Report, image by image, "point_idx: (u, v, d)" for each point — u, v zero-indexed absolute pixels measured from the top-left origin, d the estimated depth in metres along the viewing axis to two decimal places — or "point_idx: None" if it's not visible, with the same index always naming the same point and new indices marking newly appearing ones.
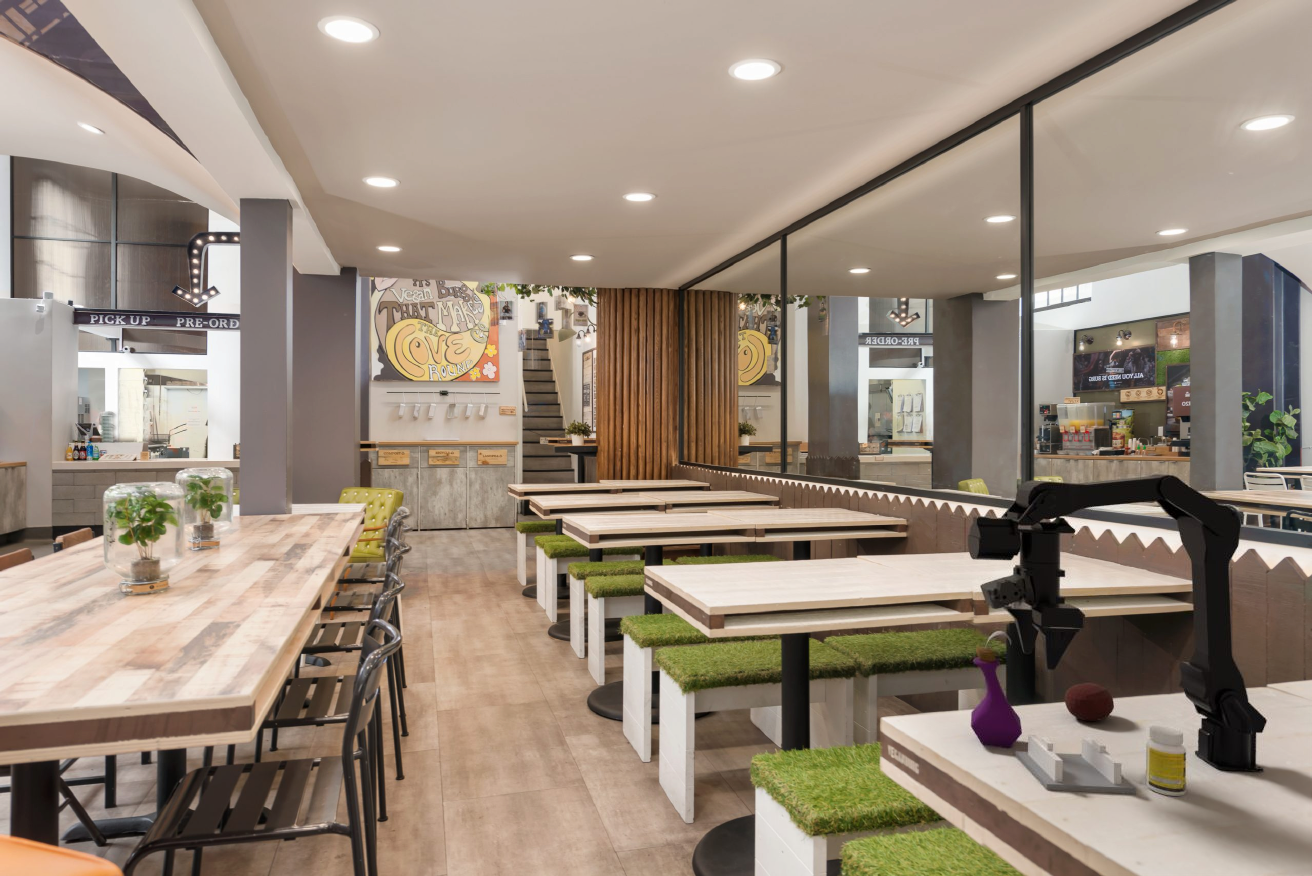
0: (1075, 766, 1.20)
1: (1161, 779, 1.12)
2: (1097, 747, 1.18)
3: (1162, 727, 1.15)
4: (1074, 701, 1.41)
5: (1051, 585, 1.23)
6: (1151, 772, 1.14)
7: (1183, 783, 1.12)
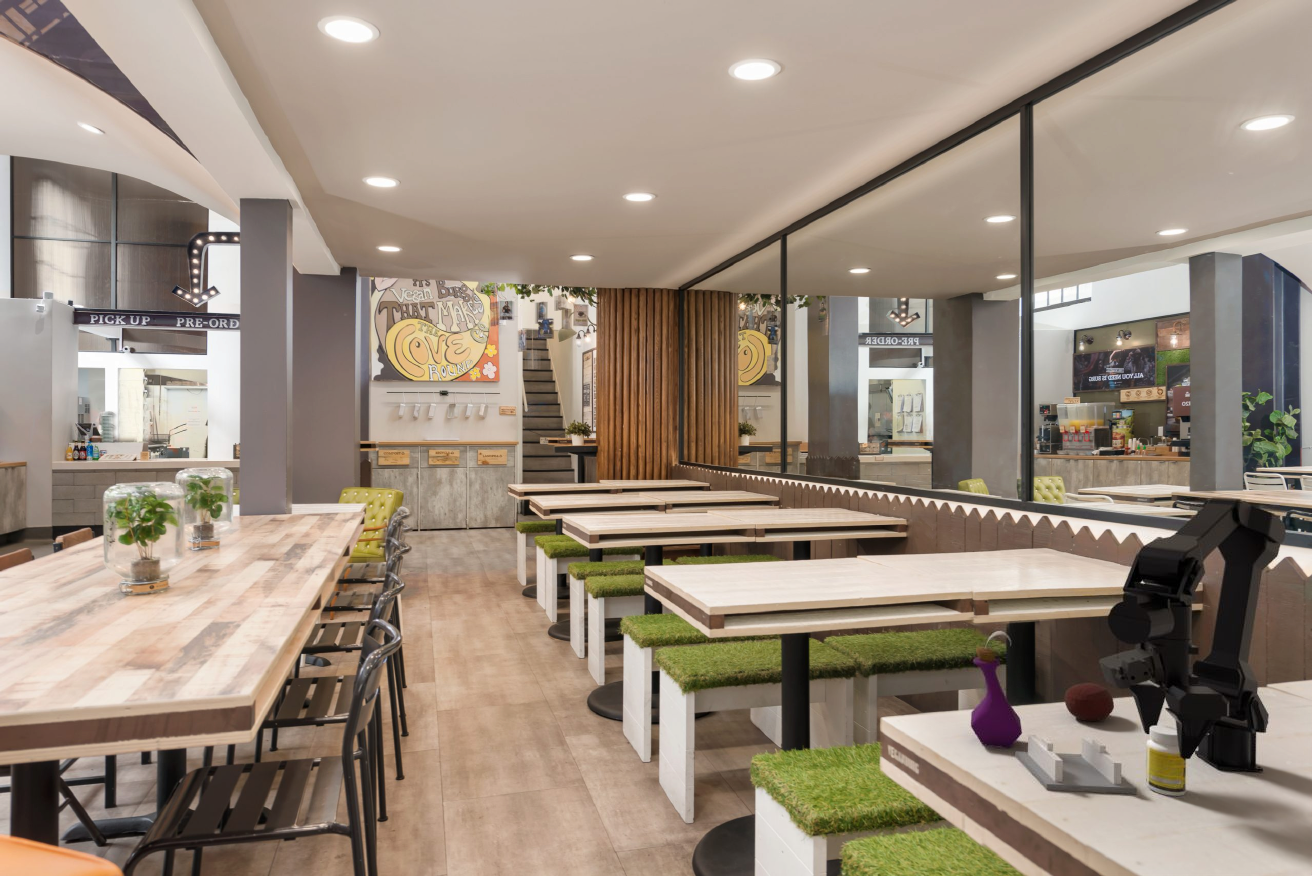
0: (1075, 766, 1.20)
1: (1161, 779, 1.12)
2: (1097, 747, 1.18)
3: (1162, 727, 1.15)
4: (1074, 701, 1.41)
5: (1183, 663, 1.11)
6: (1151, 772, 1.14)
7: (1183, 783, 1.12)
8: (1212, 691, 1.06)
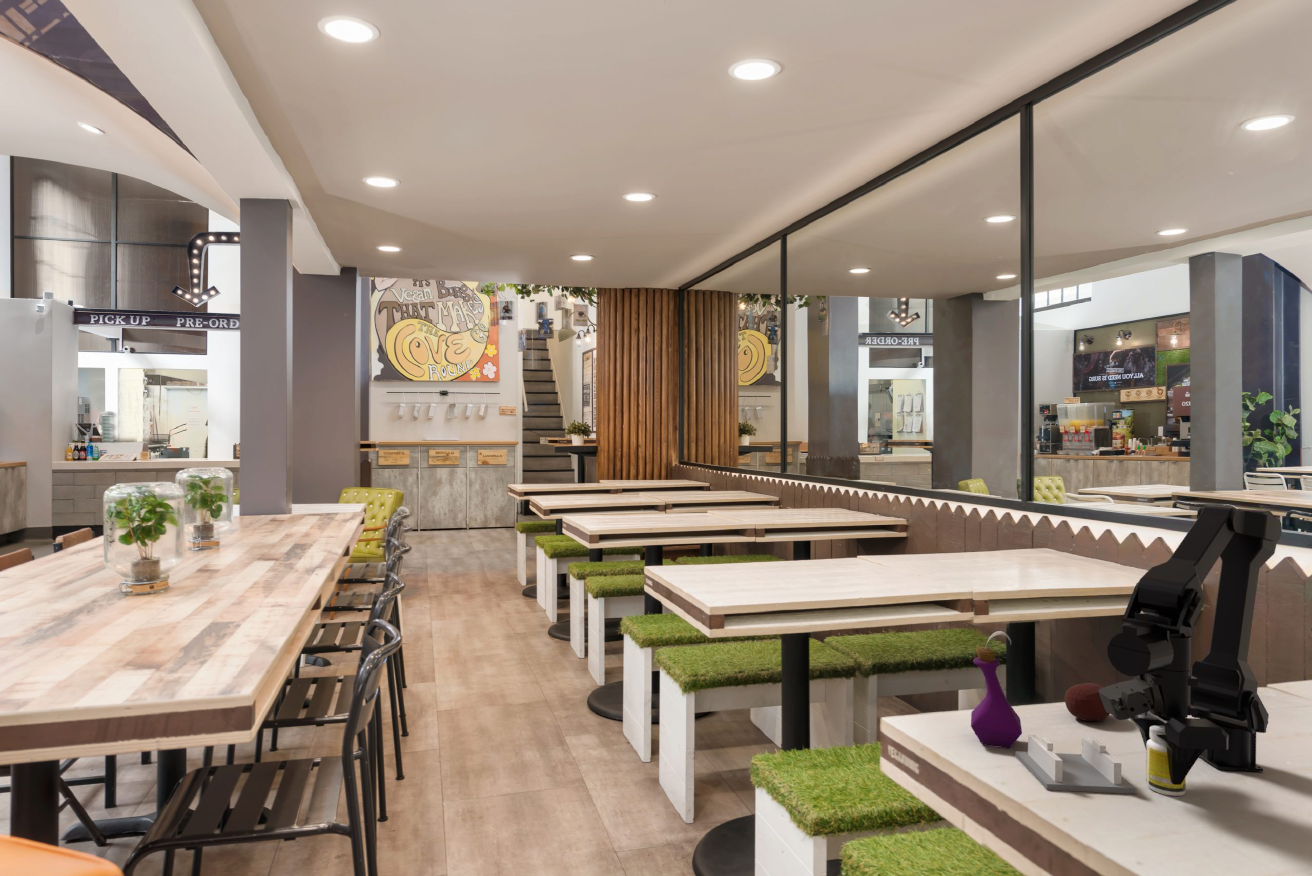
0: (1075, 766, 1.20)
1: (1161, 779, 1.12)
2: (1097, 747, 1.18)
3: (1162, 726, 1.15)
4: (1074, 701, 1.41)
5: (1183, 695, 1.11)
6: (1151, 772, 1.14)
7: (1183, 783, 1.12)
8: (1211, 724, 1.06)
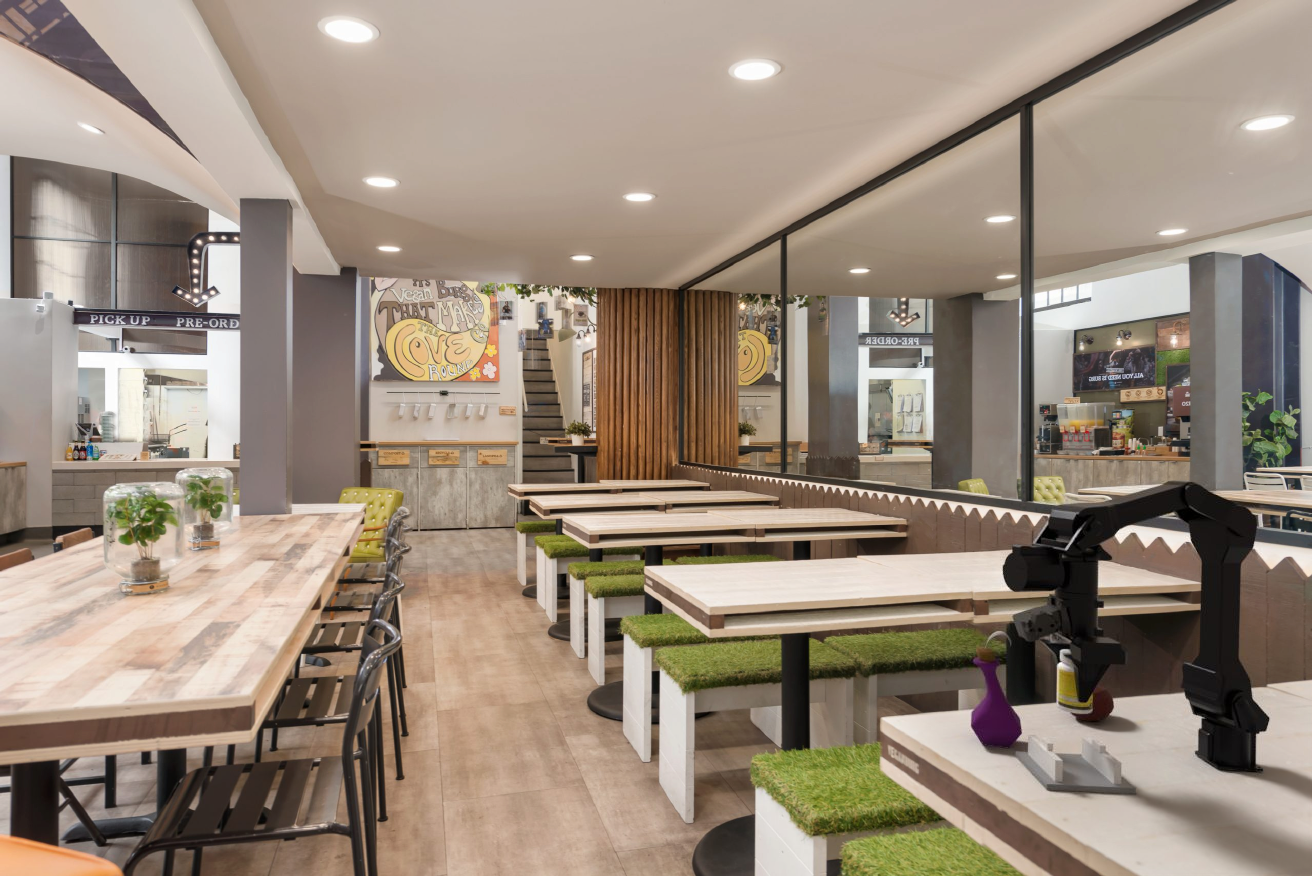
0: (1075, 766, 1.20)
1: (1069, 698, 1.17)
2: (1097, 747, 1.18)
3: None
4: None
5: (1089, 616, 1.16)
6: (1060, 692, 1.18)
7: (1090, 702, 1.17)
8: (1112, 641, 1.11)
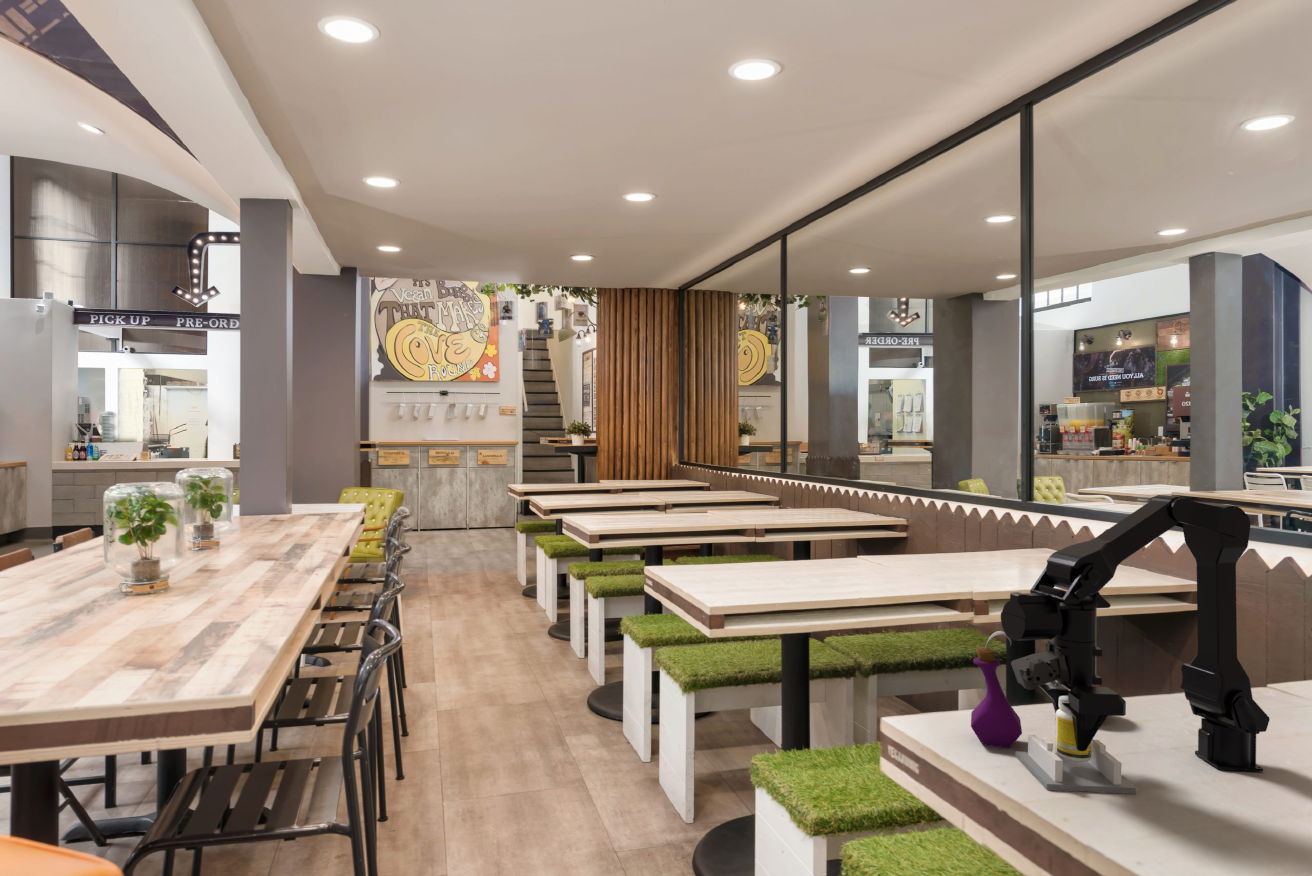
0: (1075, 766, 1.20)
1: (1068, 746, 1.17)
2: (1097, 747, 1.18)
3: None
4: None
5: (1087, 665, 1.16)
6: (1059, 740, 1.19)
7: (1088, 750, 1.17)
8: (1111, 691, 1.11)
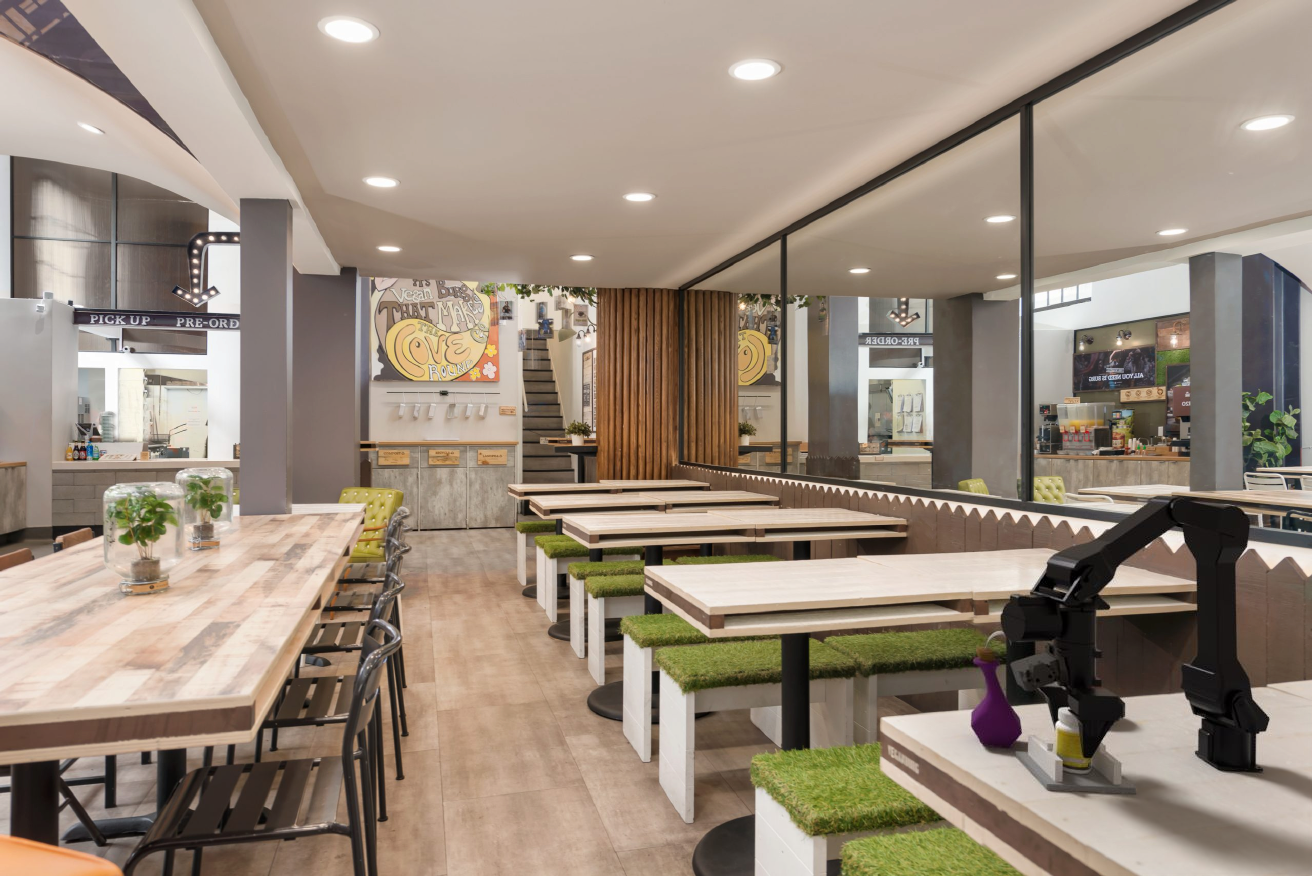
0: None
1: (1067, 758, 1.17)
2: None
3: None
4: None
5: (1087, 666, 1.16)
6: (1058, 752, 1.19)
7: (1088, 762, 1.17)
8: (1110, 693, 1.11)
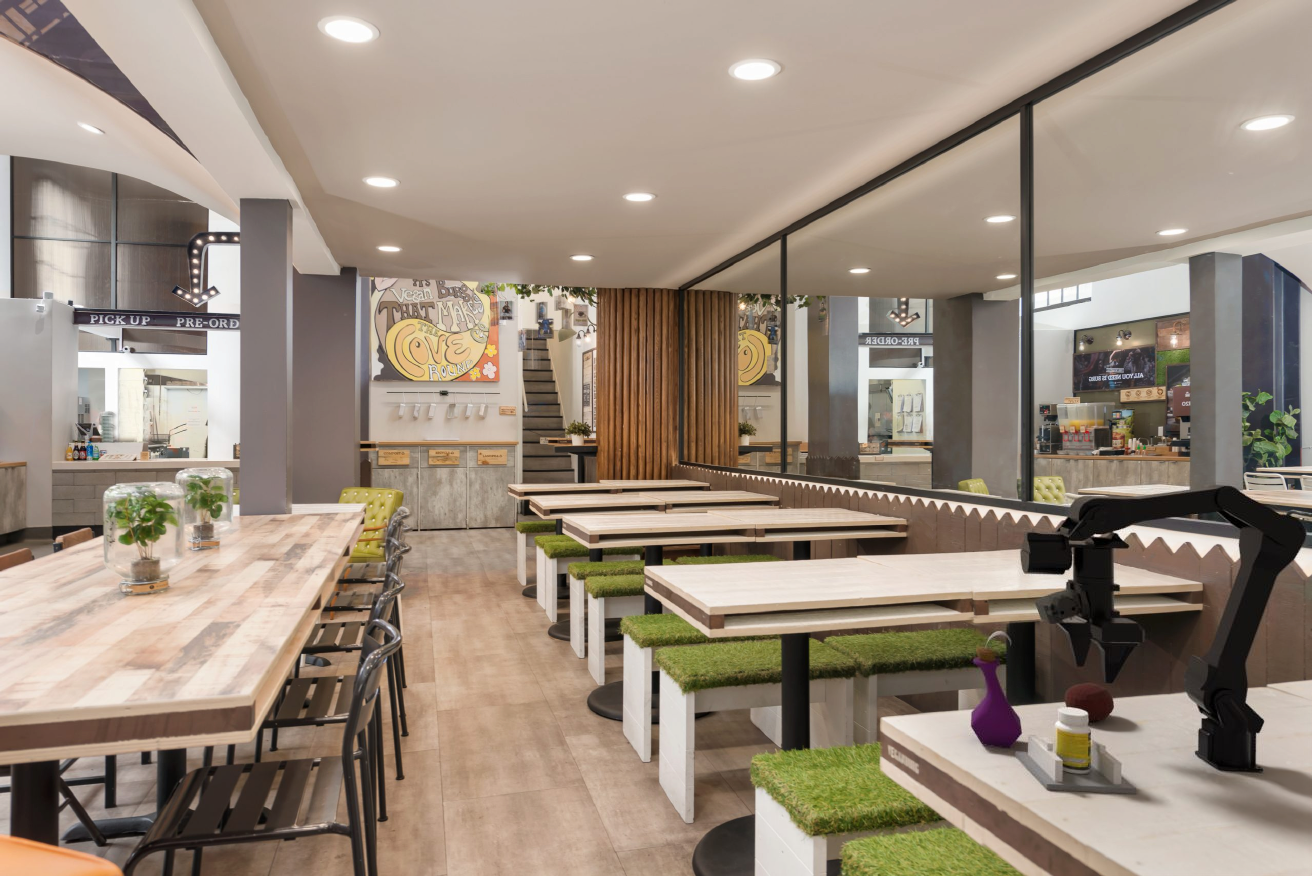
0: None
1: (1067, 758, 1.17)
2: (1097, 747, 1.18)
3: (1070, 708, 1.20)
4: (1074, 701, 1.41)
5: (1107, 599, 1.25)
6: (1058, 752, 1.19)
7: (1088, 762, 1.17)
8: (1130, 621, 1.20)
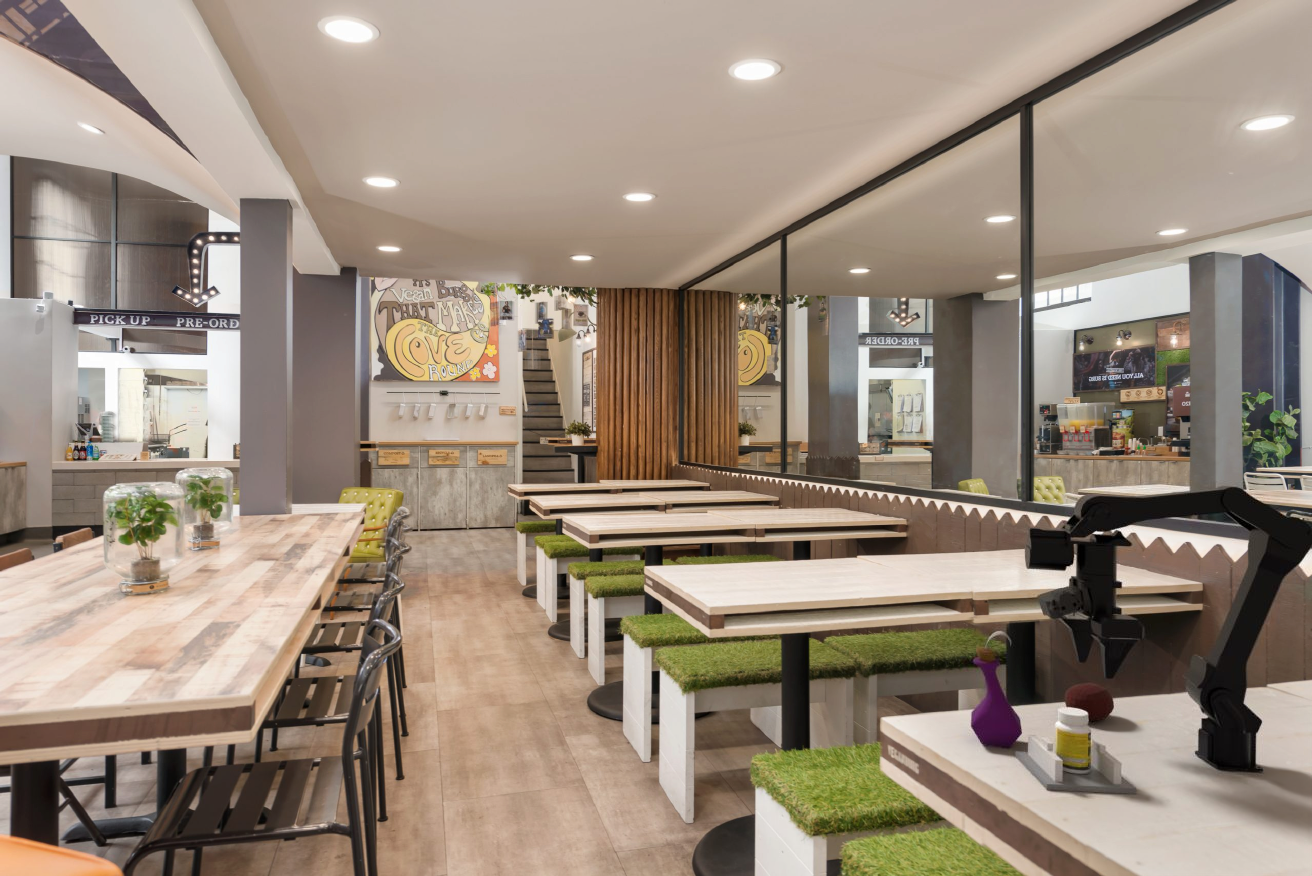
0: None
1: (1067, 758, 1.17)
2: (1097, 747, 1.18)
3: (1070, 708, 1.20)
4: (1074, 701, 1.41)
5: (1108, 596, 1.27)
6: (1058, 752, 1.19)
7: (1088, 762, 1.17)
8: (1130, 617, 1.22)
